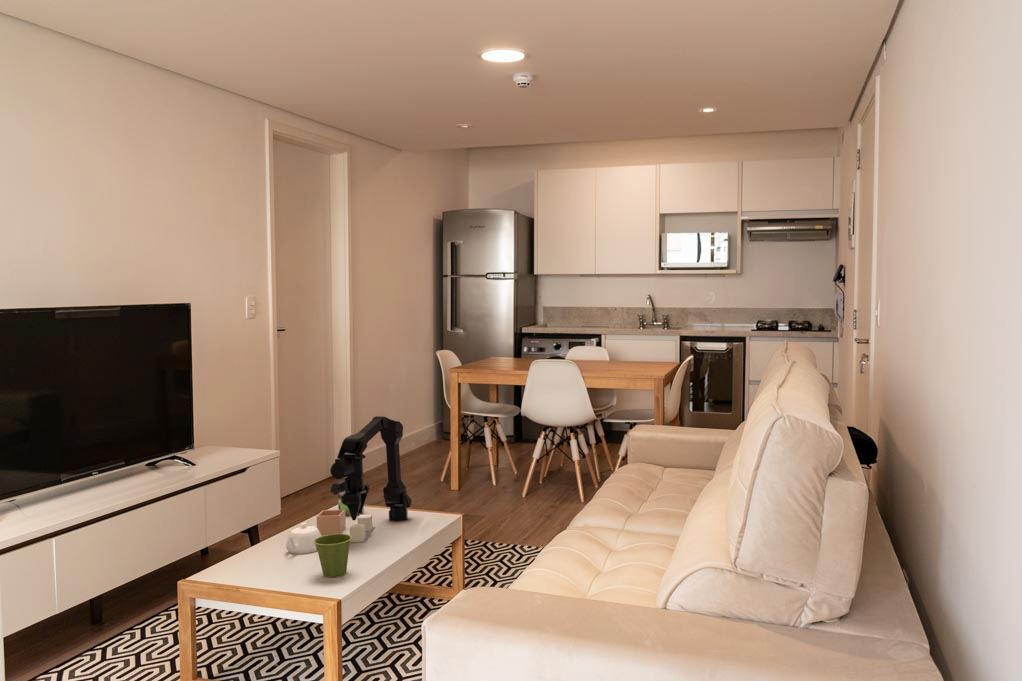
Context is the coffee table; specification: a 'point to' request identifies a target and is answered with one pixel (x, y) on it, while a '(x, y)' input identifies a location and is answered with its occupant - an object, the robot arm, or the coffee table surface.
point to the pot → (331, 522)
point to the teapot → (302, 539)
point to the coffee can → (344, 507)
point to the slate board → (366, 535)
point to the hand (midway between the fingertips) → (356, 516)
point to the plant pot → (333, 553)
